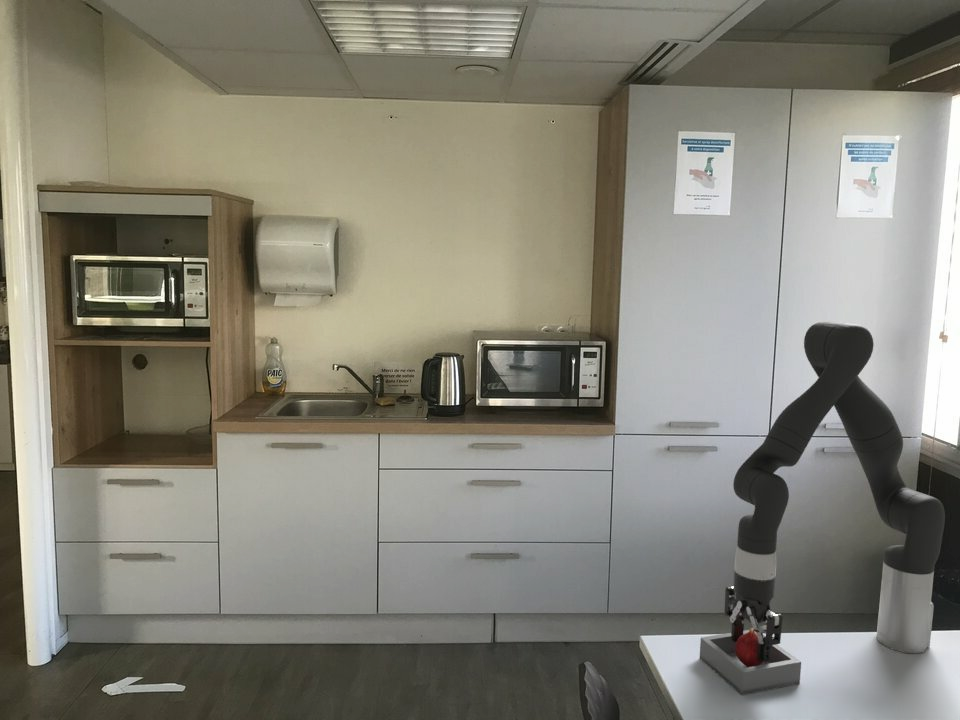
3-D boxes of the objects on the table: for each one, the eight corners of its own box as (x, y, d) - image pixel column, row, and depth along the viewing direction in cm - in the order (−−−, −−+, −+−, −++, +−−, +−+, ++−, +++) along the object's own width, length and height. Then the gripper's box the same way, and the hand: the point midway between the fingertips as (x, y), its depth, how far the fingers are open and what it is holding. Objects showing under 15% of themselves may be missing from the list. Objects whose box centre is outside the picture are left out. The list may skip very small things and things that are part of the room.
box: (753, 649, 150) (755, 628, 149) (799, 683, 137) (801, 661, 137) (699, 658, 146) (700, 637, 145) (741, 695, 133) (743, 672, 133)
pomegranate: (769, 676, 138) (772, 637, 137) (739, 675, 138) (742, 636, 137) (759, 660, 144) (762, 622, 143) (730, 659, 144) (732, 621, 143)
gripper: (797, 583, 133) (791, 666, 135) (746, 554, 147) (742, 630, 149) (763, 588, 131) (758, 672, 133) (715, 558, 144) (711, 635, 146)
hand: (749, 650), depth 141 cm, fingers open, 7 cm apart
